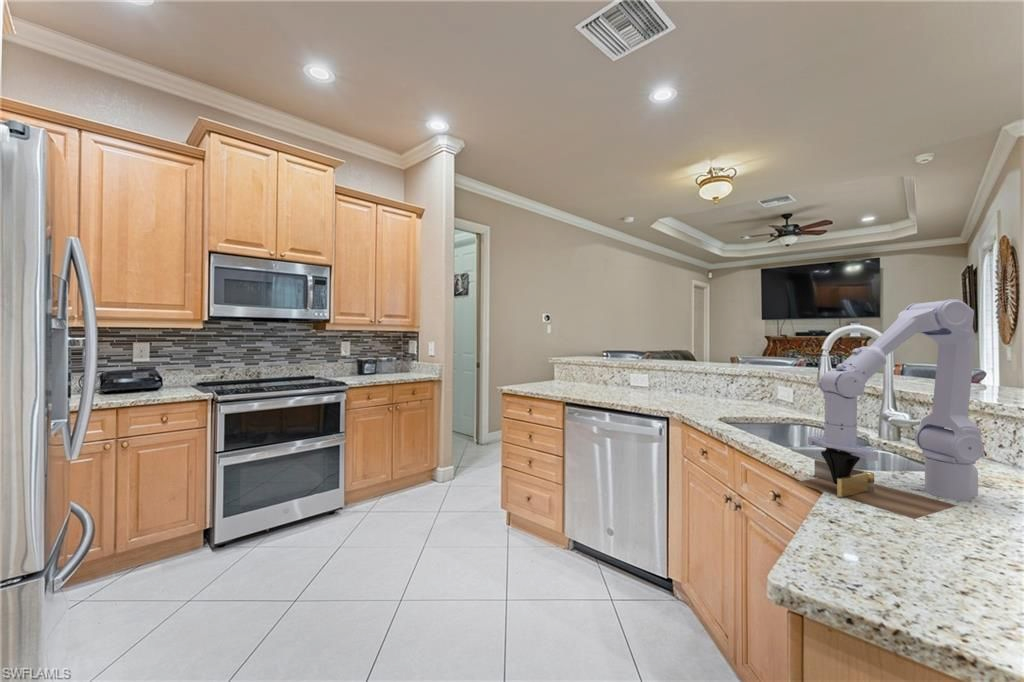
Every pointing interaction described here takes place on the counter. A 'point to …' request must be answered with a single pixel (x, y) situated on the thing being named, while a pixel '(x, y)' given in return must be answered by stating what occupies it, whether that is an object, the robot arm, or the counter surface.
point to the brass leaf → (854, 484)
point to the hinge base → (878, 495)
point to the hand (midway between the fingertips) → (840, 484)
